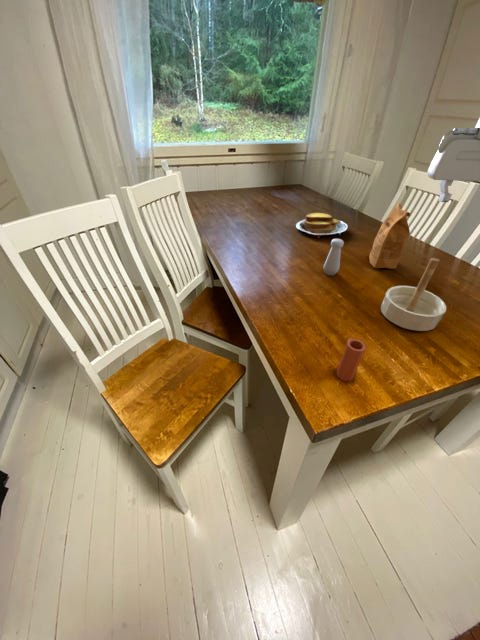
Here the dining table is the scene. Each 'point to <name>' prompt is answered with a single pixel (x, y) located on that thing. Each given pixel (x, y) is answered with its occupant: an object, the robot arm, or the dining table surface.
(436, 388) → the dining table surface
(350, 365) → the utensil holder
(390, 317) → the bowl
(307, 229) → the food on plate
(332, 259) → the salt shaker
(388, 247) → the coffee package
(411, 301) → the stirring stick
